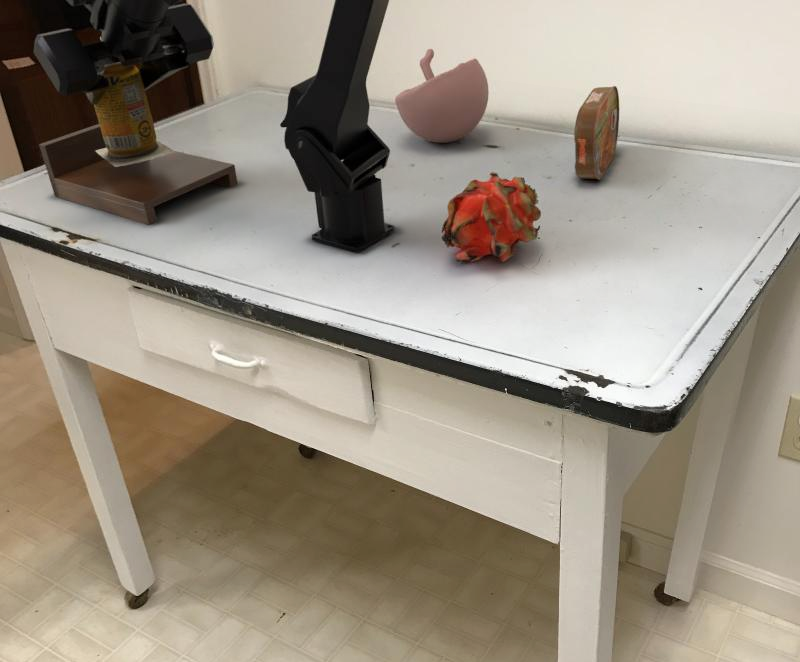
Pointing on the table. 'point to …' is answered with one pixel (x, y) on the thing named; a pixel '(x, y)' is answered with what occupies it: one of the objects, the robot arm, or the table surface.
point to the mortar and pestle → (445, 101)
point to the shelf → (125, 176)
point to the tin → (596, 132)
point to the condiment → (127, 119)
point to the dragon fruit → (491, 218)
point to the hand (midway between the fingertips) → (116, 94)
